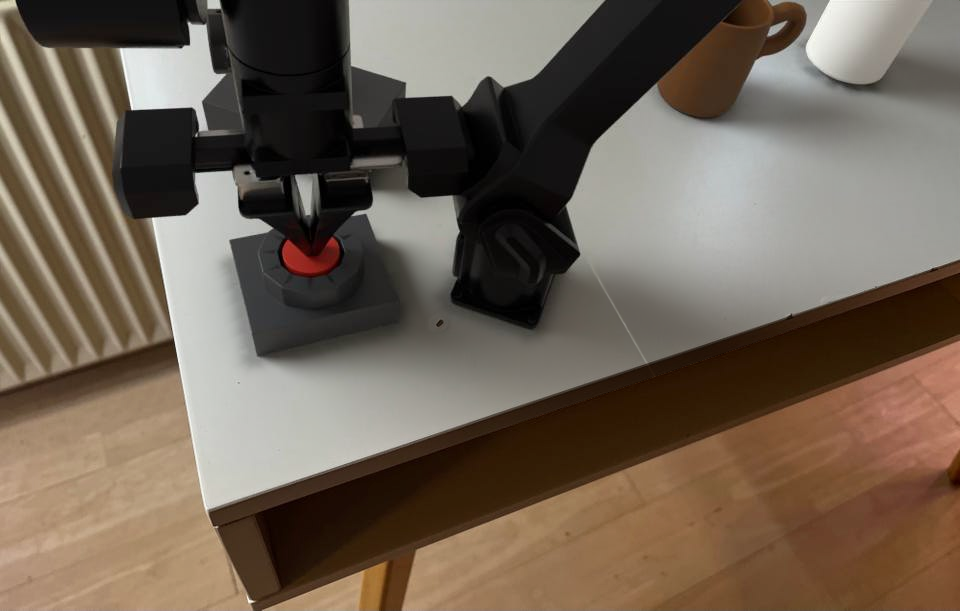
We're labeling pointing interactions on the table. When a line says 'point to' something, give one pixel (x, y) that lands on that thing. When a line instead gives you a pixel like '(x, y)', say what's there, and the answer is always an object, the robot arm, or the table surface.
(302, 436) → the table surface
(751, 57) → the mug
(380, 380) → the table surface
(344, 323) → the push button box
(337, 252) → the stop button
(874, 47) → the beverage can
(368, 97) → the slider switch box
